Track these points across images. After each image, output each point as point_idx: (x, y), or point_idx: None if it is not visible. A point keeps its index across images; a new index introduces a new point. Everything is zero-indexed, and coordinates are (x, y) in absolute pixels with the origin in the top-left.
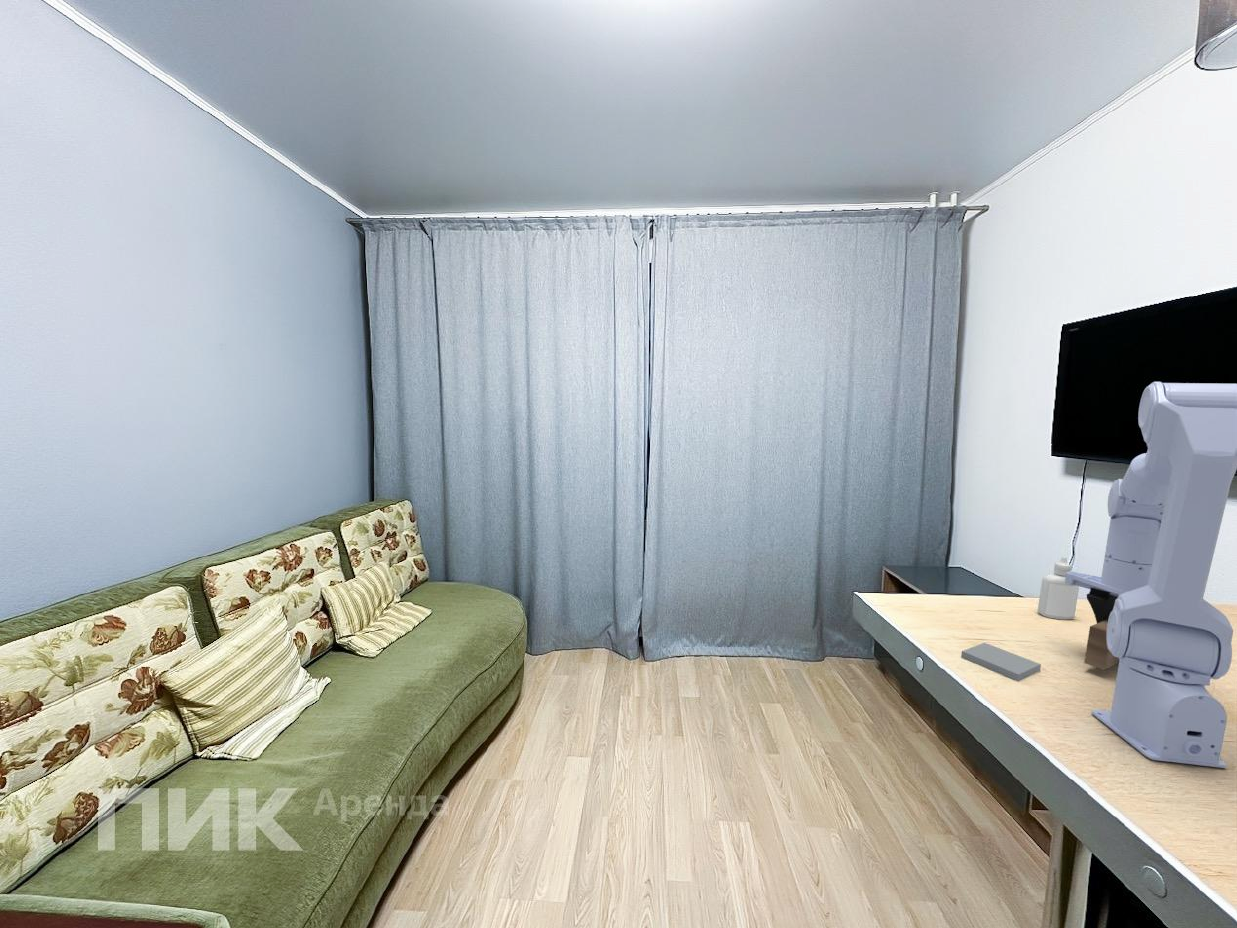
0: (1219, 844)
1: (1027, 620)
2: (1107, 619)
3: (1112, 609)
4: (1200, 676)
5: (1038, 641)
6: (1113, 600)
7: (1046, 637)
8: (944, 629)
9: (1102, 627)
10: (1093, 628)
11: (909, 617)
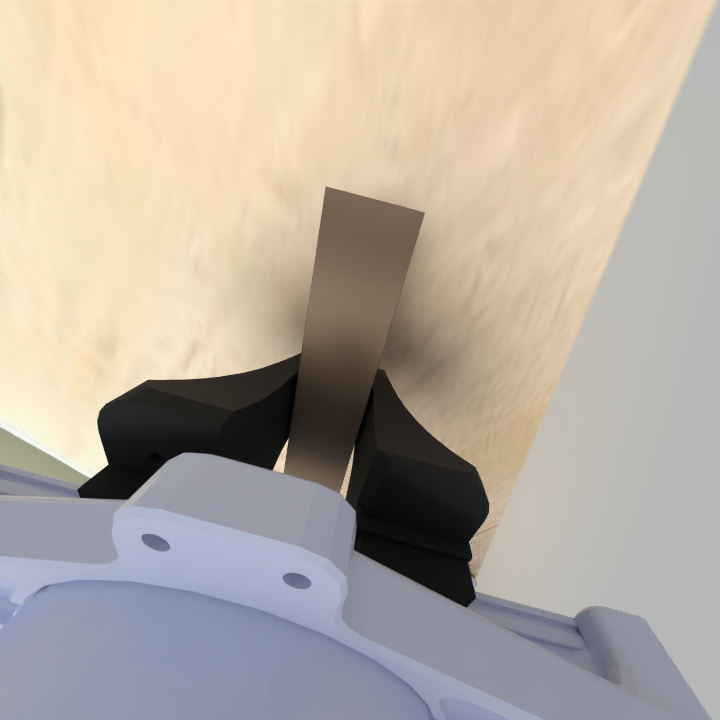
0: None
1: (90, 131)
2: (290, 431)
3: (275, 411)
4: None
5: (206, 327)
6: (247, 457)
7: (201, 274)
8: (93, 415)
9: None
10: None
11: (27, 404)
